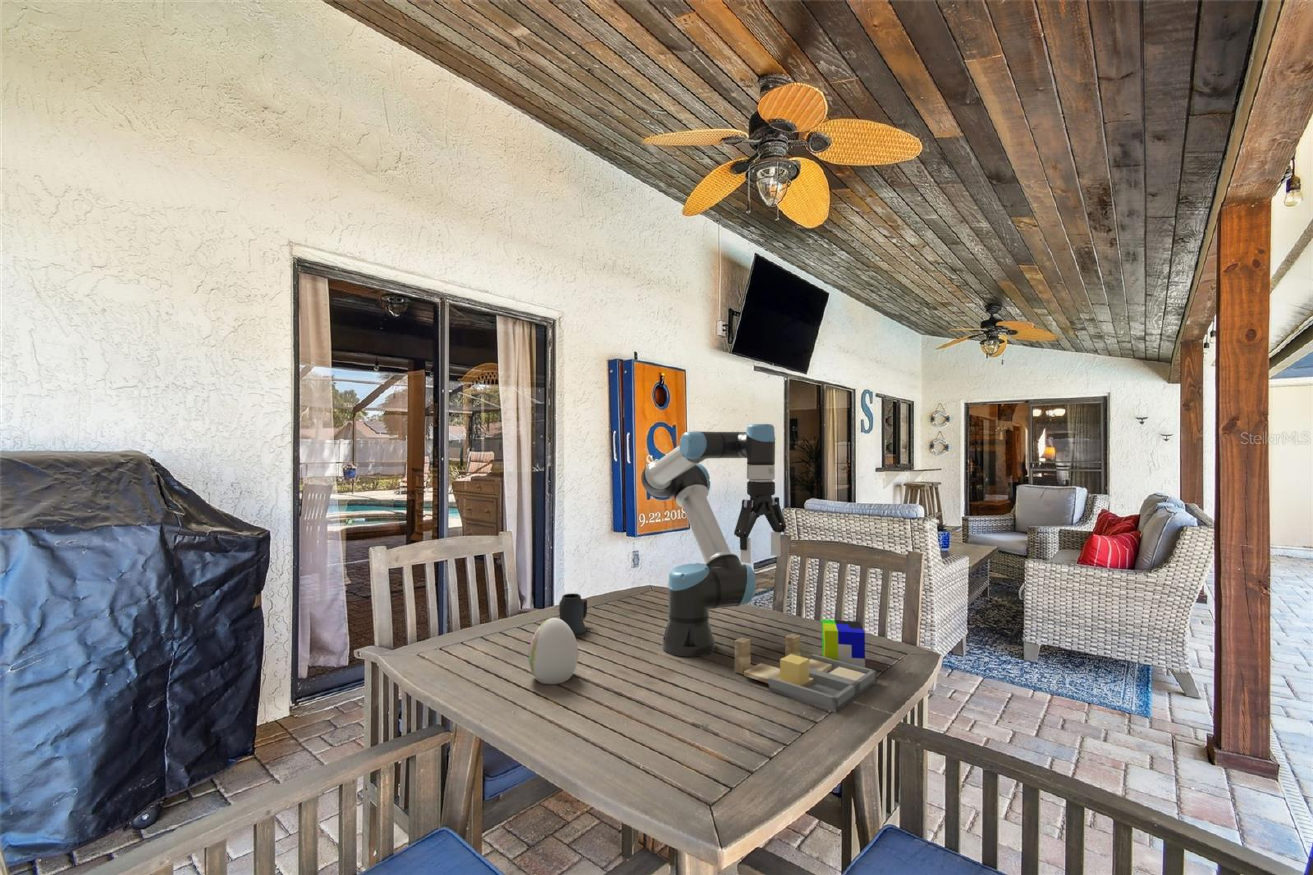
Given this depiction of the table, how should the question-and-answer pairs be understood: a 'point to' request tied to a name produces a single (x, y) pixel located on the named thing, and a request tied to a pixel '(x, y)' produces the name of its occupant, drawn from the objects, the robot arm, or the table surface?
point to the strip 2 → (795, 648)
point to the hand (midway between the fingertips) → (761, 559)
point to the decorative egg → (553, 652)
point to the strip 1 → (758, 671)
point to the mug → (573, 612)
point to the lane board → (828, 685)
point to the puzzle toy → (843, 641)
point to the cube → (794, 669)
